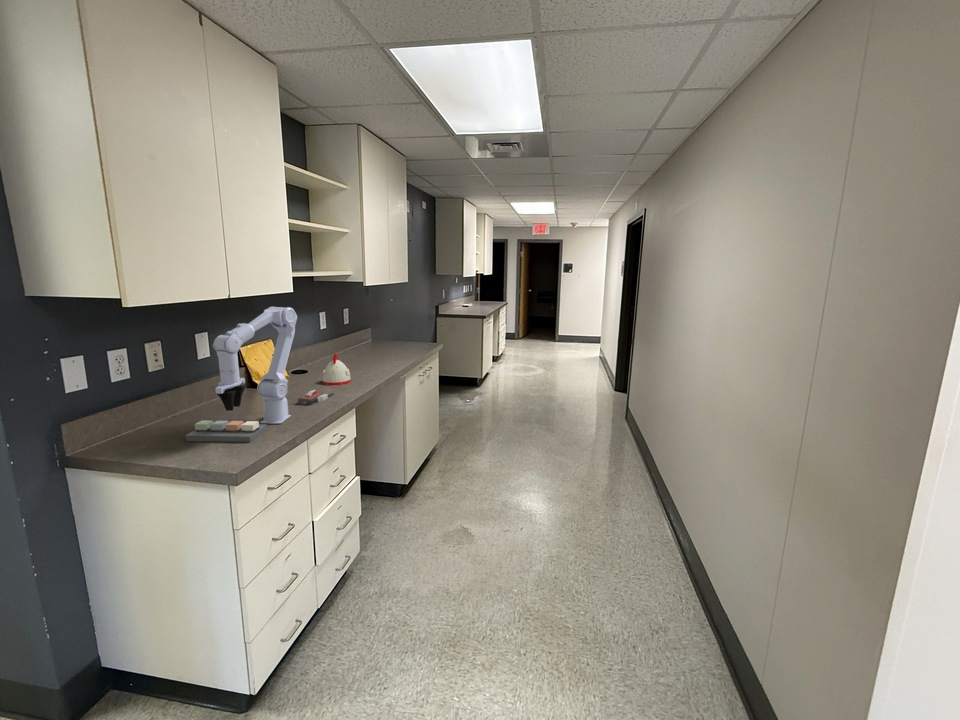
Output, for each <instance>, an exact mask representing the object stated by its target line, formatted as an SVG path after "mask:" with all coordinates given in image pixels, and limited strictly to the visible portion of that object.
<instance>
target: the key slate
mask: <svg viewBox="0 0 960 720" xmlns="http://www.w3.org/2000/svg"><path fill="white" fill-rule="evenodd" d="M228 423H229V420H216V421H213V423H212V424H210V427H211V430H214V432H223V431H225V430H226V424H228Z"/></svg>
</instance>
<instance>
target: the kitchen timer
mask: <svg viewBox="0 0 960 720" xmlns="http://www.w3.org/2000/svg"><path fill="white" fill-rule="evenodd" d="M332 357H333V358H332V360H331V361H330V362H329V363H328V364H327V366H326V367H325V369H323V372H322V384H323V385H324V384H326V385H325V386H330V385H337V386H343V384H345V385H348V384H350V383H351V382H352V379H351V372H350V369H349V368H348V367H347V366H346V364H345V363H344V362H342V361H341V360H339V357H338V353H334V355H333V356H332ZM349 382H350V383H349ZM347 383H348V384H347Z"/></svg>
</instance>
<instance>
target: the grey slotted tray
mask: <svg viewBox="0 0 960 720" xmlns="http://www.w3.org/2000/svg"><path fill="white" fill-rule="evenodd" d="M241 429H242V428H241ZM267 431H268V424H266V423H259V427H258V428H257V430H256V431H255V432H253V433H246V432H245V431H244V430H240V431H239V432H229V430H225V431H223V432H214V430H209V431H207V432H198V430H193V431H191V432H189V433H187V434H185V442H212V443H214V442H217V443H218V442H220V443H221V442H223V443H225V442H226V443H227V442H228V443H252V442H253V441H254V440H256V439H257V438H258V437H259V436H261V435H263V434H264V433H266V432H267Z"/></svg>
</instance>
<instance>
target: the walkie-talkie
mask: <svg viewBox="0 0 960 720" xmlns="http://www.w3.org/2000/svg"><path fill="white" fill-rule="evenodd" d="M334 393H336V391H335V390H332V391H331V392H329V393H326V394H325V393H323V392H322V391H319V390H318V389H312V390H310V391H308V393H305V394H304V395H303V396H300V397H299V398H297V404H298V405H302V406H303V405H304V406H305V405H307V406H312V405H313V404H315V403H317V402H323V401H326V400H328V399H329V396H332V394H334Z"/></svg>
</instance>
